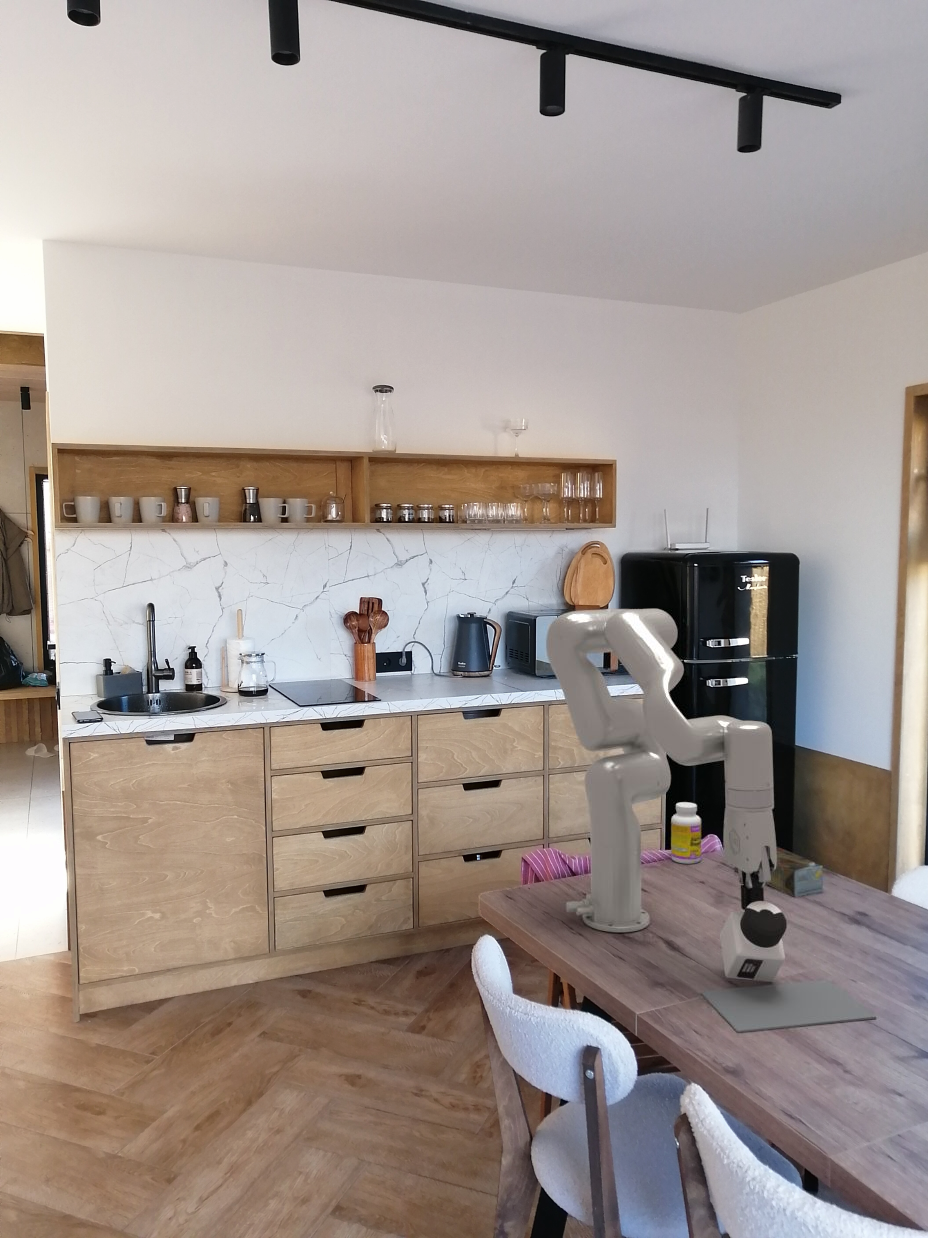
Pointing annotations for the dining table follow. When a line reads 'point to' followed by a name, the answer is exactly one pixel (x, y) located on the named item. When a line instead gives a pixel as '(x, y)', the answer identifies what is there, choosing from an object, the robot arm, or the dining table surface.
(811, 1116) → the dining table surface
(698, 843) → the supplement bottle
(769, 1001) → the rubber mat
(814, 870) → the beverage carton
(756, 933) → the container
